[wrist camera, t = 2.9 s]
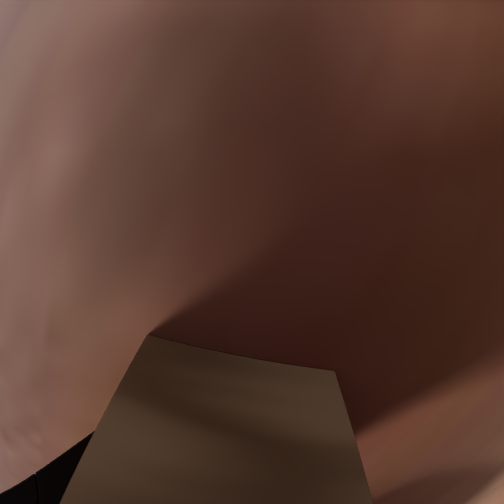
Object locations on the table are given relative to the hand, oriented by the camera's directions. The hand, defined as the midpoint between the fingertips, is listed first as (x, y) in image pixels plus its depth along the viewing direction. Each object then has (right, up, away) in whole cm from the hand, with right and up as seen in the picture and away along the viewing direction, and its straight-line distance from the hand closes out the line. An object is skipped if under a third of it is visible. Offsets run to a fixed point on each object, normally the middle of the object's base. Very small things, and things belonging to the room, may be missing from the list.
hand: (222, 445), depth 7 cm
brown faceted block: (0, 0, +1) cm, 1 cm away
